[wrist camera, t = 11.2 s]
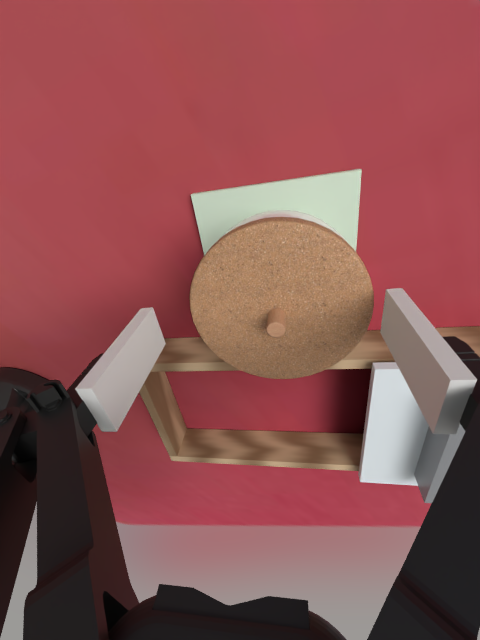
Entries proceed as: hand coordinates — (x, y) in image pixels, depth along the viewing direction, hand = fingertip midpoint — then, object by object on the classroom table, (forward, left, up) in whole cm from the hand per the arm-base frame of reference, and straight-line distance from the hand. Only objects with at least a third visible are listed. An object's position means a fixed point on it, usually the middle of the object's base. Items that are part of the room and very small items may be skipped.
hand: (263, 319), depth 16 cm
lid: (+13, -15, -4) cm, 21 cm away
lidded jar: (+1, 0, -9) cm, 9 cm away
